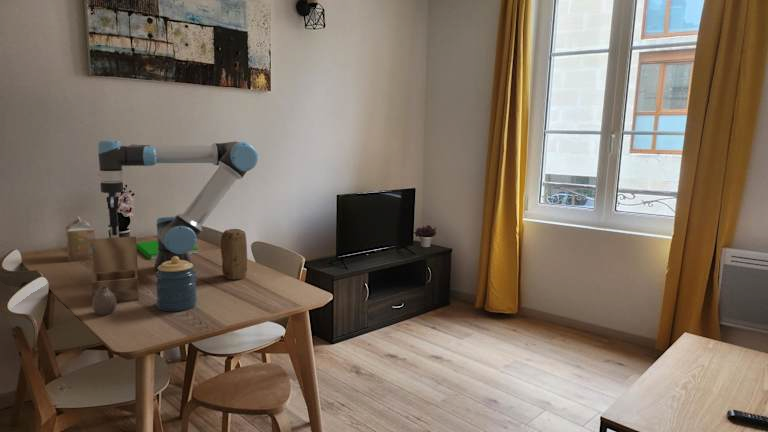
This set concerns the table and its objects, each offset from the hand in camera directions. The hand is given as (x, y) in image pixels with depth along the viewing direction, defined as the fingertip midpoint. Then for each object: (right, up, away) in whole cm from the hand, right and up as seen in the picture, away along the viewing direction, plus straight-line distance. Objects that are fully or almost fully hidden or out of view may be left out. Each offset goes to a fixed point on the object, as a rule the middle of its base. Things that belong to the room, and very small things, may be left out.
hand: (115, 242), depth 194 cm
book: (-5, -8, +57) cm, 58 cm away
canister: (+32, -21, -19) cm, 43 cm away
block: (+41, -15, +16) cm, 47 cm away
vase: (+12, -22, -28) cm, 37 cm away
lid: (+4, -4, -8) cm, 10 cm away
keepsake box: (+7, -19, -12) cm, 24 cm away
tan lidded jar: (-36, -9, +39) cm, 54 cm away
